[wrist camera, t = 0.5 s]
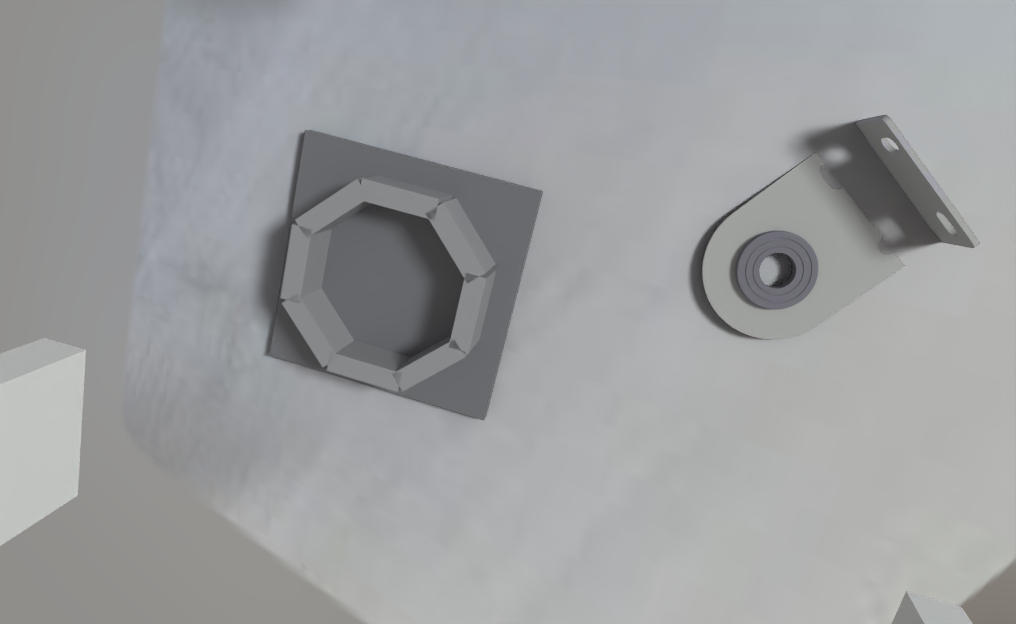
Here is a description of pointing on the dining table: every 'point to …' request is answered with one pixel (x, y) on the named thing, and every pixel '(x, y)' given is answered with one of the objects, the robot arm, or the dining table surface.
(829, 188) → the bracket
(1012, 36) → the dining table surface
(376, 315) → the cup holder
